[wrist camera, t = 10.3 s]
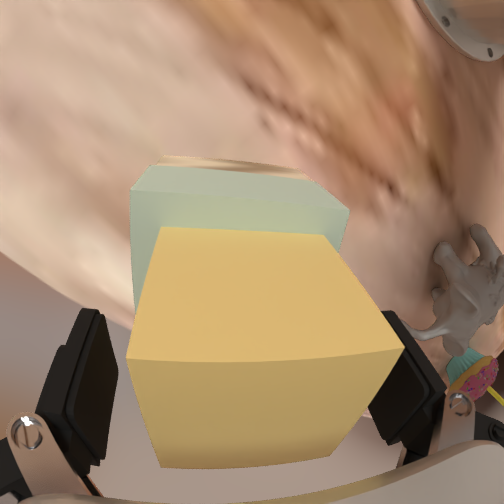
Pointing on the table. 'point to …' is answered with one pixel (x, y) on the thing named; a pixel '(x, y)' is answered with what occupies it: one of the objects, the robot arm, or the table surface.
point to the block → (253, 348)
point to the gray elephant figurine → (465, 293)
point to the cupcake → (473, 374)
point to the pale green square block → (225, 208)
